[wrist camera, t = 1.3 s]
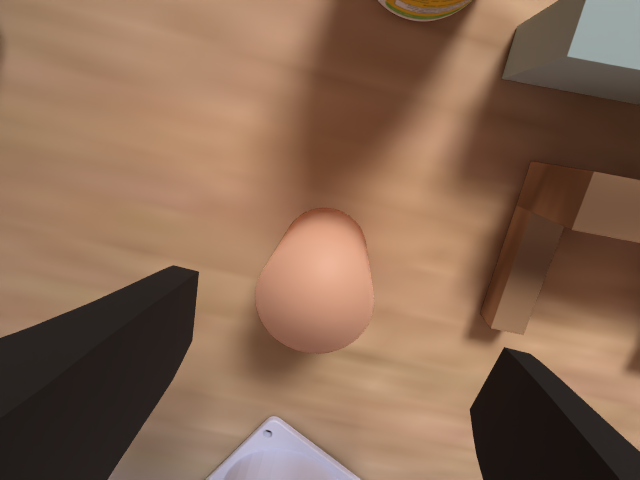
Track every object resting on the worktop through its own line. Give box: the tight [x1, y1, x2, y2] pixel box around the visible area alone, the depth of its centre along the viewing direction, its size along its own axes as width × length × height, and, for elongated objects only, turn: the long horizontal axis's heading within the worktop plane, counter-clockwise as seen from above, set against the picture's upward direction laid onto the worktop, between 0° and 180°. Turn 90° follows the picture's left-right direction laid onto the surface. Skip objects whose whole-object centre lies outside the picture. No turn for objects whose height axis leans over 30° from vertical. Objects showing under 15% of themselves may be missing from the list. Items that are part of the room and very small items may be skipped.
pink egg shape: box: [255, 208, 374, 354], centre depth 16 cm, size 4×4×6 cm
